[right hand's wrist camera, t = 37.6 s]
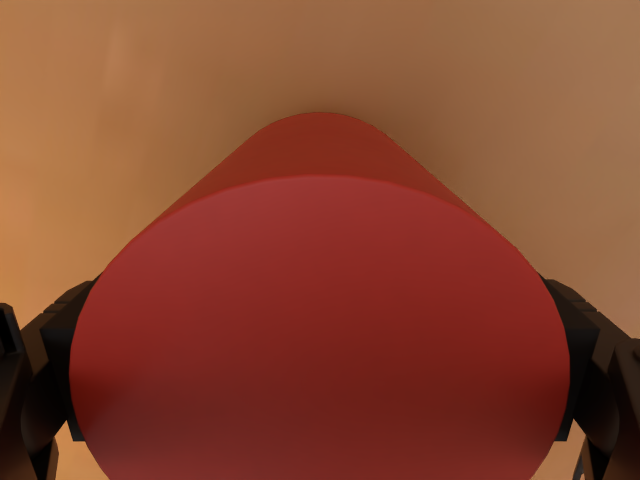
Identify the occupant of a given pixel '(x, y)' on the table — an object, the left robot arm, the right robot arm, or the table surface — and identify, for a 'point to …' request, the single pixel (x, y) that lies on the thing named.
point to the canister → (319, 326)
